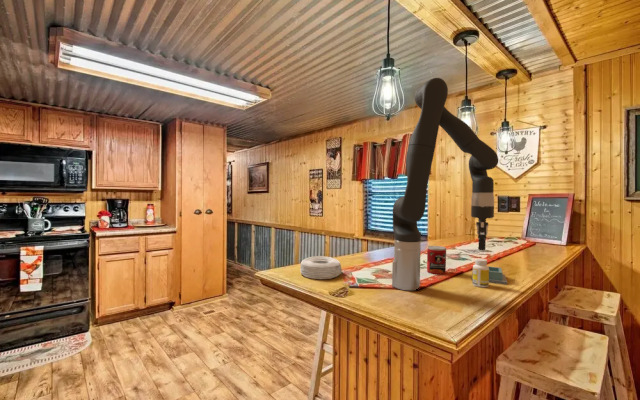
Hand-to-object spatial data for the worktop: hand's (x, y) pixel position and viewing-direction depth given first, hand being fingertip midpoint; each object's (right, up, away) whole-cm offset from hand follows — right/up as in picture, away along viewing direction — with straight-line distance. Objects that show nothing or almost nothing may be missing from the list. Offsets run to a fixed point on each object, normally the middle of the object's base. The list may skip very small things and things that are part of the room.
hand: (481, 247), depth 112 cm
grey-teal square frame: (+8, -14, +10) cm, 19 cm away
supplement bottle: (0, -14, 0) cm, 14 cm away
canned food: (-10, -14, +18) cm, 25 cm away
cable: (-60, -14, +14) cm, 63 cm away
